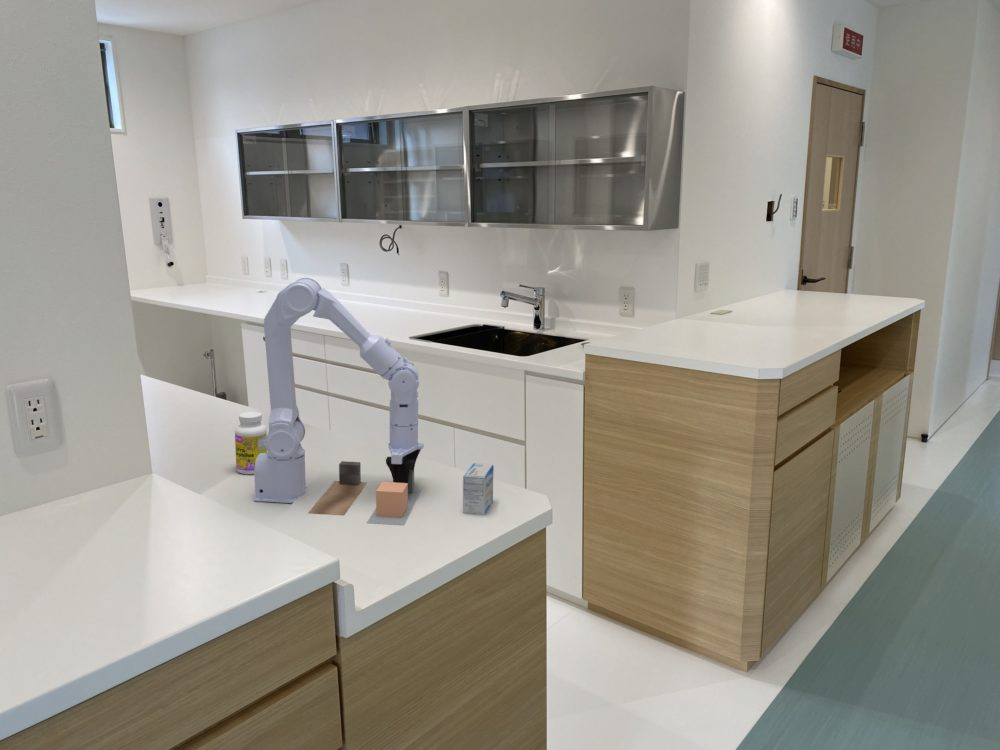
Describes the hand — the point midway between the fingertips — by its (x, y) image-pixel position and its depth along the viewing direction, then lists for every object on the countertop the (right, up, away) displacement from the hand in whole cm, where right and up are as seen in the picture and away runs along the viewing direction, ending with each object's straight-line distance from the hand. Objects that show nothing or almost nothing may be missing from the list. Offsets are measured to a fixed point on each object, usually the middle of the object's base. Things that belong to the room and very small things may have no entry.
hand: (403, 486), depth 155 cm
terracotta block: (-1, -3, -11) cm, 11 cm away
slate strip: (-1, -3, -6) cm, 7 cm away
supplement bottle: (-35, +2, +13) cm, 37 cm away
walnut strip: (-12, -2, -3) cm, 13 cm away
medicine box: (+15, -4, -6) cm, 17 cm away
